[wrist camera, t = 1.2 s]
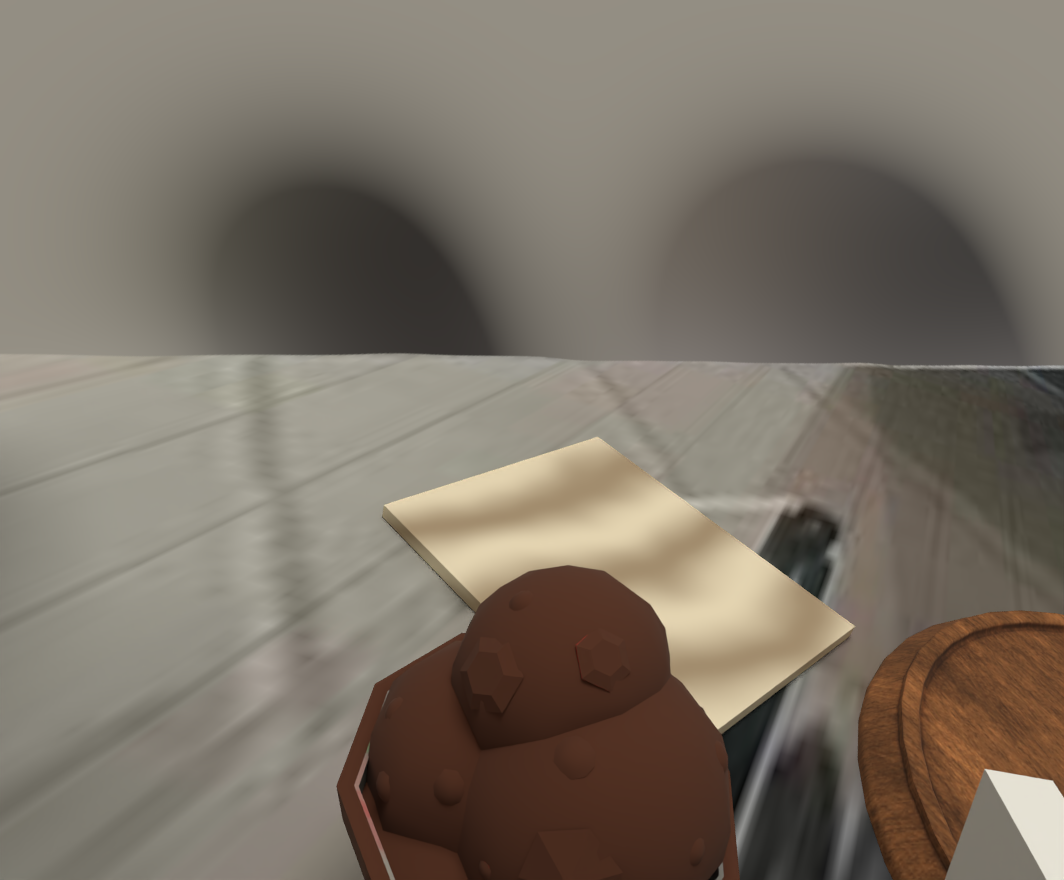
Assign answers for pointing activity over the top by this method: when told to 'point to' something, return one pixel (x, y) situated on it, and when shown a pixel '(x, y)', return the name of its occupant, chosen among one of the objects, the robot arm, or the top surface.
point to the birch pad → (629, 566)
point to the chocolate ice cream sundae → (542, 749)
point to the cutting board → (957, 729)
